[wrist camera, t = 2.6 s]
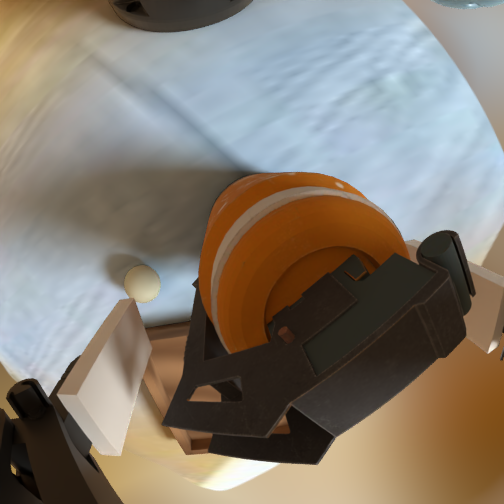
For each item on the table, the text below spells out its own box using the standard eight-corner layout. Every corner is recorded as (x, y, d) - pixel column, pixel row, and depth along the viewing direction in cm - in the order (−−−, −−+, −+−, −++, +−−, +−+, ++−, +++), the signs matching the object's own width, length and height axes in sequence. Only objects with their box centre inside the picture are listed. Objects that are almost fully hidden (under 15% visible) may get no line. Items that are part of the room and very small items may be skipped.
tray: (134, 329, 26) (127, 343, 23) (296, 300, 27) (303, 312, 24) (187, 440, 31) (186, 454, 28) (307, 419, 32) (313, 433, 29)
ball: (125, 264, 24) (114, 276, 21) (158, 257, 24) (150, 269, 21) (135, 296, 25) (126, 311, 22) (167, 290, 25) (161, 306, 22)
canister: (330, 232, 25) (517, 350, 6) (236, 308, 26) (273, 523, 7) (269, 151, 23) (449, 86, 4) (169, 236, 24) (49, 417, 5)
